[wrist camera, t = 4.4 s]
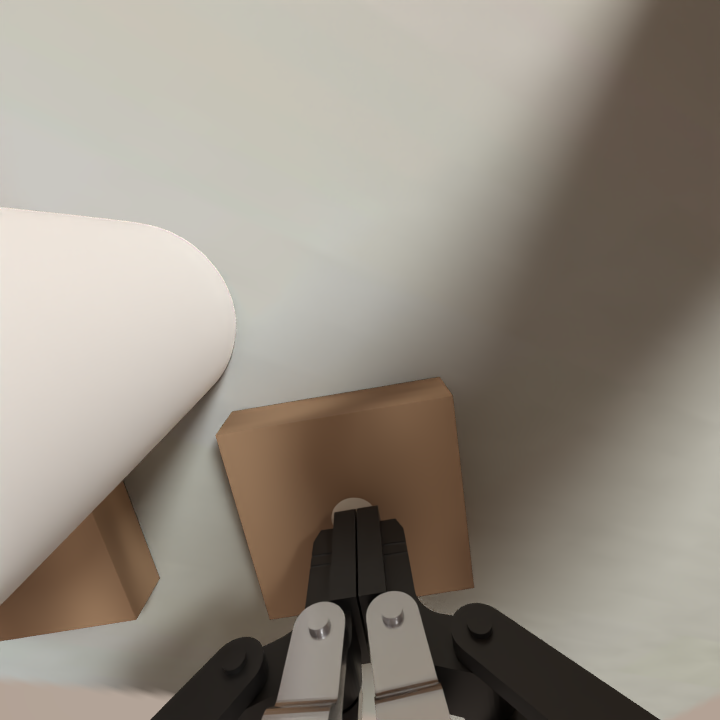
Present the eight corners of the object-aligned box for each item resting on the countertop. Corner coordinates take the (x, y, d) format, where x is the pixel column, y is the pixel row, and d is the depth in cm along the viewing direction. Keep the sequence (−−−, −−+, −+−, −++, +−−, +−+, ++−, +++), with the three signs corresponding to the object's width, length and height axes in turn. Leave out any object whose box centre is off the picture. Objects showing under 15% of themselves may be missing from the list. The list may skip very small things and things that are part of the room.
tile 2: (95, 409, 15) (57, 433, 13) (159, 578, 17) (135, 620, 15) (-109, 443, 15) (-176, 472, 13) (-20, 606, 18) (-67, 652, 16)
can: (202, 429, 16) (-215, 955, 4) (32, 357, 15) (-1147, 778, 3) (269, 277, 14) (-92, 426, 3) (84, 185, 13) (-1838, -240, 2)
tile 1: (439, 376, 15) (453, 396, 13) (460, 549, 17) (474, 589, 15) (232, 411, 15) (214, 436, 13) (278, 578, 18) (269, 620, 16)
